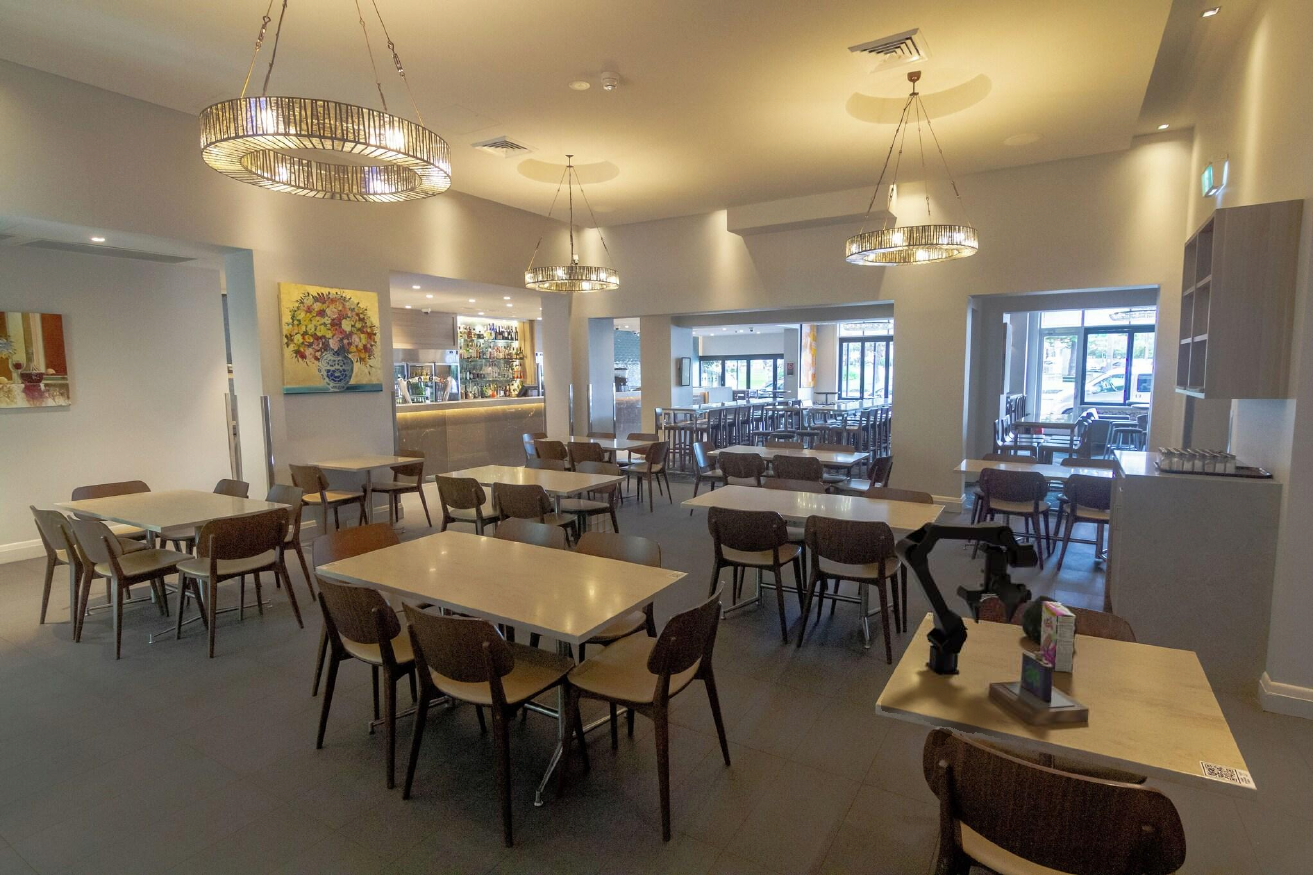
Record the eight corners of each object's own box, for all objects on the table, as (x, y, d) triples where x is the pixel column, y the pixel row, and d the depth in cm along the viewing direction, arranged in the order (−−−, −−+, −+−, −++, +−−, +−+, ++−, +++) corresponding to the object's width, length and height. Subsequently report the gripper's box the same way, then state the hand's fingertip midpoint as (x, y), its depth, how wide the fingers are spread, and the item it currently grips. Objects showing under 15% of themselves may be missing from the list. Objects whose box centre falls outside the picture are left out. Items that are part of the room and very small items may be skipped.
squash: (1091, 625, 200) (1055, 582, 205) (1082, 641, 189) (1045, 596, 194) (1049, 644, 208) (1016, 603, 213) (1039, 661, 197) (1004, 617, 202)
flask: (1017, 685, 165) (1020, 644, 164) (1028, 684, 165) (1031, 643, 164) (1044, 703, 156) (1047, 660, 155) (1055, 702, 156) (1058, 659, 155)
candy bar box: (1038, 654, 191) (1041, 600, 190) (1057, 656, 190) (1060, 601, 189) (1053, 671, 180) (1057, 614, 179) (1073, 673, 179) (1077, 615, 178)
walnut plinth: (1030, 725, 152) (1031, 711, 152) (988, 694, 167) (989, 681, 167) (1087, 720, 154) (1088, 707, 154) (1041, 690, 169) (1042, 678, 169)
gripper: (980, 577, 171) (976, 635, 172) (1047, 576, 172) (1043, 633, 174) (957, 565, 182) (954, 619, 183) (1020, 564, 183) (1017, 618, 185)
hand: (992, 622), depth 181 cm, fingers open, 9 cm apart
